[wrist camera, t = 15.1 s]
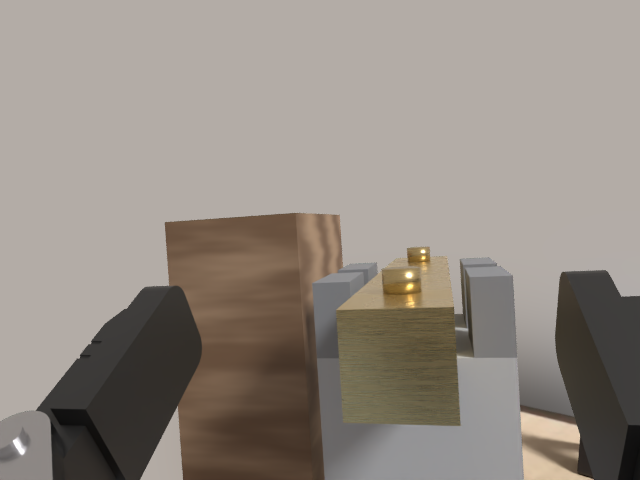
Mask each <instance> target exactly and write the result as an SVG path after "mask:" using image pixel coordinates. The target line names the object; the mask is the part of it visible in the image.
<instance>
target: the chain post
mask: <svg viewBox="0 0 640 480" xmlns="http://www.w3.org/2000/svg"><path fill="white" fill-rule="evenodd" d="M460 269H461V286H462V304H463V314H454V317H455V335H456V352H457V370H458V387H459V405H460V422H461V426H436V425H401V424H366V423H343V412H342V397H341V381H340V365H339V349H338V333H337V318H336V310H337V309H338V308H339V307H340V306H341V305H342V304H344V303H345V302H346V301H347V300H348V299H349V298H351V297H352V296H353V295H354V294H355V293H356V292H358V291H359V290H360V289H361V288H362V287H363V286H365V285H366V284H367V283H368V282H369V281H370V280H372V279H373V278H374V277H375V276H376V275H377V274H378V273H377V263H359V264H349V265H347V266H345V267H343V268H341V269H339V270H338V273H331V274H329V275H327V276H325V277H323V278H321V279H320V280H318V281H316V282H314V283H312V289H313V305H314V320H315V336H316V351H317V367H318V383H319V398H320V414H321V429H322V445H323V460H324V476H325V480H524V474H523V455H522V437H521V418H520V400H519V382H518V363H517V345H516V327H515V309H514V290H513V276H512V275H511V274H510V273H509V272H507V271H506V270H505V269H503V268H502V267H501V266H497V263H495V262H494V261H493V260H492V259H490V258H469V259H460Z"/></svg>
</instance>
